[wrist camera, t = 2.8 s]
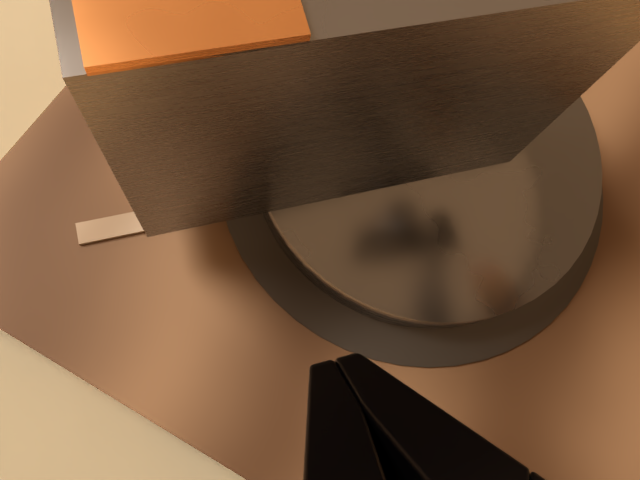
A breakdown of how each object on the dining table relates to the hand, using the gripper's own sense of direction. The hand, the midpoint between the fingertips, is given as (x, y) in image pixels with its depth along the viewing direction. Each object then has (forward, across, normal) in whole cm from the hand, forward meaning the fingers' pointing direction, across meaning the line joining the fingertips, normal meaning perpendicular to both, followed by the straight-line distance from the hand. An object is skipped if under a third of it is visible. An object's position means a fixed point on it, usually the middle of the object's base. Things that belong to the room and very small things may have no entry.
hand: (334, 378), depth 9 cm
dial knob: (+8, -4, 0) cm, 9 cm away
